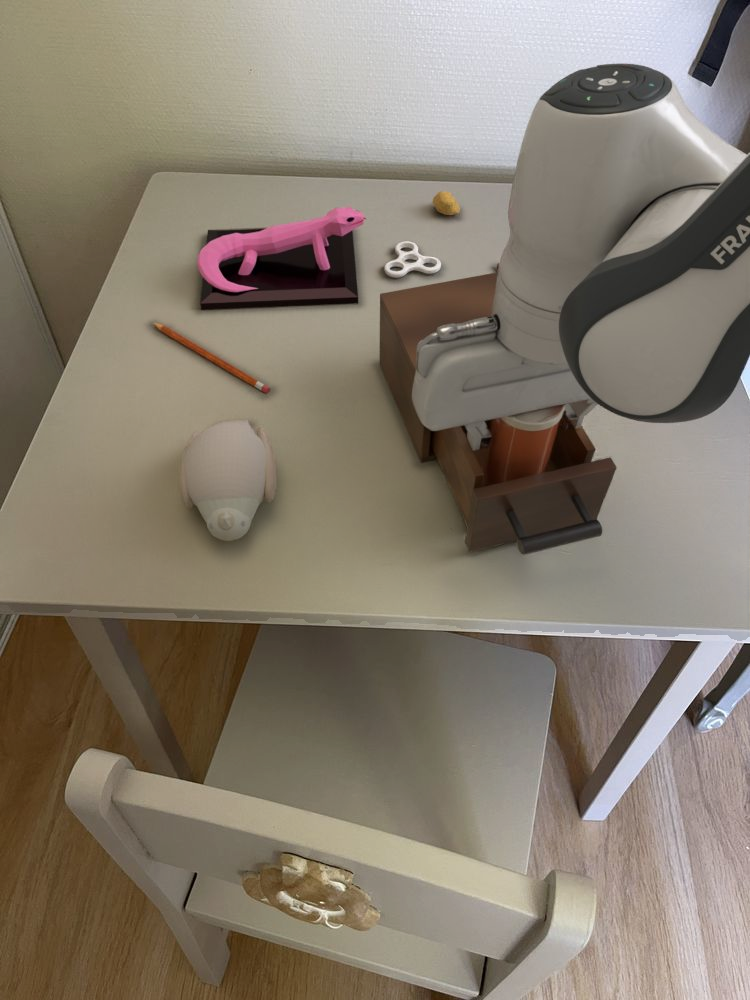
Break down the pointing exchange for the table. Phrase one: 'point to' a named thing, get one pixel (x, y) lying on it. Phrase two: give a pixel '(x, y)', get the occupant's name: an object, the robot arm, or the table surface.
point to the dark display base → (281, 264)
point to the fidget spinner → (411, 266)
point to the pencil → (213, 358)
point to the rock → (446, 203)
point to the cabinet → (424, 336)
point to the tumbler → (521, 444)
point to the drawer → (527, 493)
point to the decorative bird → (228, 476)
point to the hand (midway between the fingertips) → (523, 434)
